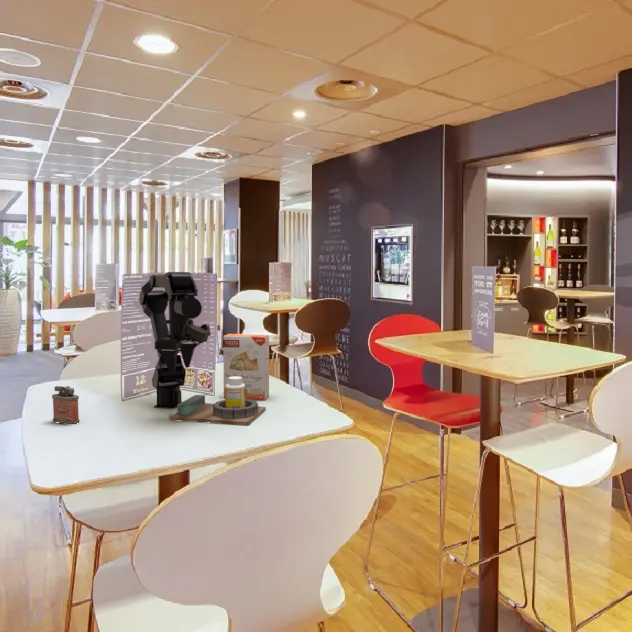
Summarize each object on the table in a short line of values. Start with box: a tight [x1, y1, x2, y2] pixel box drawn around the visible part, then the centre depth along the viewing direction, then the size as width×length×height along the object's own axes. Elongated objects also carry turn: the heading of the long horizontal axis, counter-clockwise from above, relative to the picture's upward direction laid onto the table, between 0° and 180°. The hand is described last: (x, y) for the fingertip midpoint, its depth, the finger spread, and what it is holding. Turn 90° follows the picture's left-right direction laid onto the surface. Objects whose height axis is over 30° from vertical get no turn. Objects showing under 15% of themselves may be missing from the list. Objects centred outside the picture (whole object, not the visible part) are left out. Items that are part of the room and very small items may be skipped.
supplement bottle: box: [225, 376, 245, 409], centre depth 149 cm, size 6×6×10 cm
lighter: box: [51, 385, 80, 425], centre depth 142 cm, size 8×3×10 cm, turn 71°
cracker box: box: [222, 333, 270, 401], centre depth 170 cm, size 14×6×21 cm, turn 81°
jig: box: [169, 394, 267, 426], centre depth 151 cm, size 23×16×4 cm
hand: (180, 370), depth 150 cm, fingers open, 9 cm apart
